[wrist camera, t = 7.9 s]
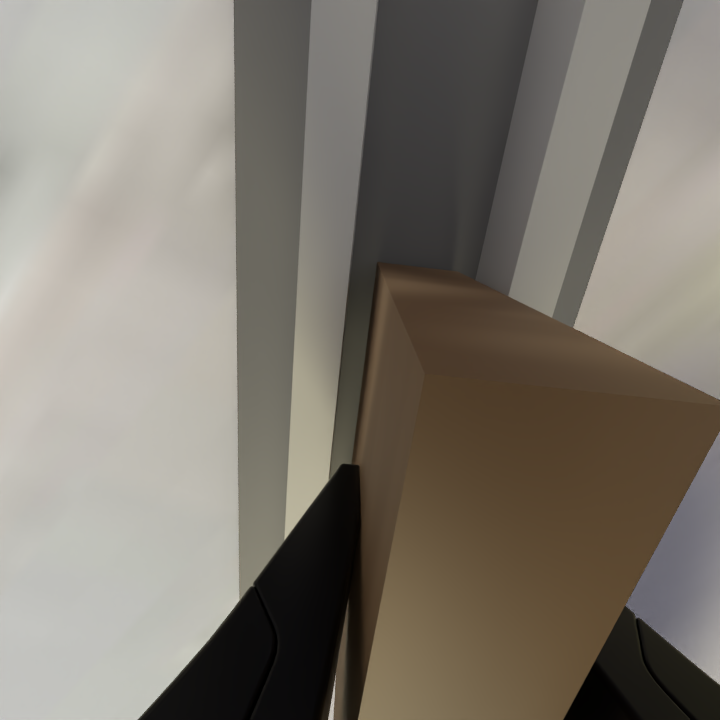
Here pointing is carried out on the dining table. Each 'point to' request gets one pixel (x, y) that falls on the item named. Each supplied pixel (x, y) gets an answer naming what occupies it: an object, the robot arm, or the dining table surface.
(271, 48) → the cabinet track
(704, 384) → the dining table surface
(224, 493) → the dining table surface
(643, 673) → the robot arm
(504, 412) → the door panel
